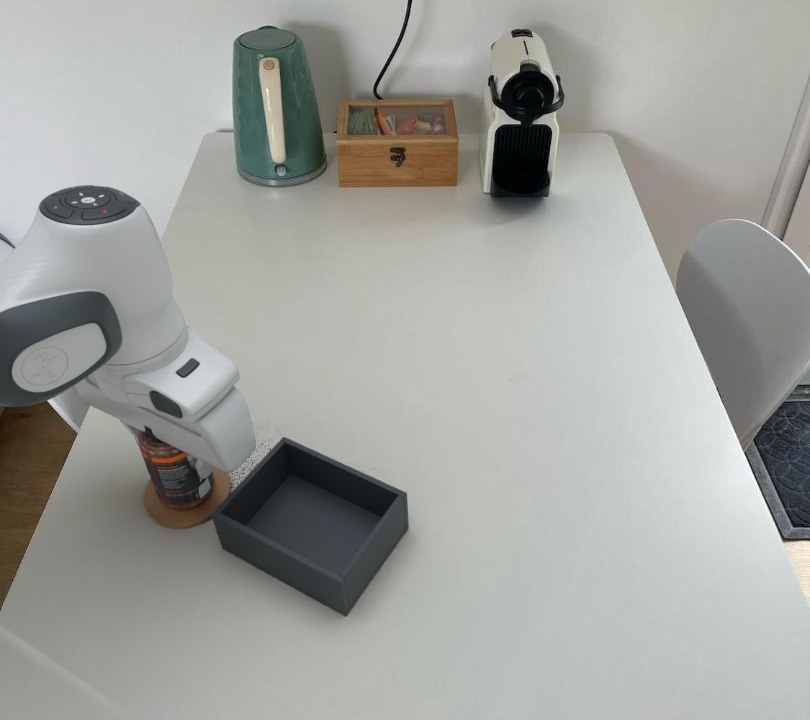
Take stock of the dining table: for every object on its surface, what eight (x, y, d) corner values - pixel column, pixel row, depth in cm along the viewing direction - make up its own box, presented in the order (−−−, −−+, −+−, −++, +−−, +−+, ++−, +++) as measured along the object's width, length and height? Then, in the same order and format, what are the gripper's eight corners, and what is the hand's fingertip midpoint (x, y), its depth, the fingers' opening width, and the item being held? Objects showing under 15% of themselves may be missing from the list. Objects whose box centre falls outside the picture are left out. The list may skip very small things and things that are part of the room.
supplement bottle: (225, 494, 84) (203, 418, 76) (171, 521, 81) (143, 446, 74) (201, 458, 87) (179, 383, 80) (149, 483, 85) (120, 408, 77)
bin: (346, 616, 74) (340, 583, 70) (221, 549, 79) (210, 514, 76) (409, 527, 81) (407, 492, 77) (290, 471, 86) (283, 436, 83)
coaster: (191, 542, 80) (190, 538, 80) (126, 506, 84) (124, 502, 83) (249, 480, 86) (248, 476, 85) (185, 448, 89) (184, 444, 89)
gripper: (33, 339, 74) (79, 440, 83) (203, 418, 66) (234, 521, 75) (86, 300, 78) (124, 401, 87) (252, 371, 70) (275, 474, 79)
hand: (176, 457), depth 81 cm, fingers closed on supplement bottle, 6 cm apart
